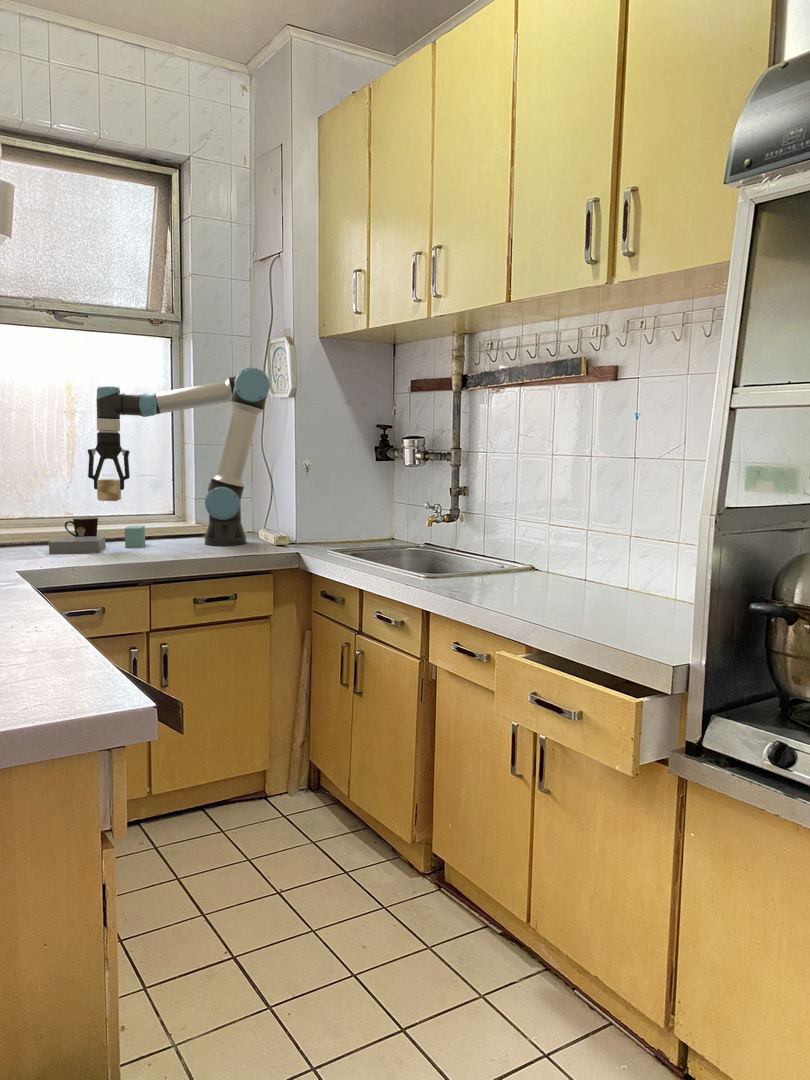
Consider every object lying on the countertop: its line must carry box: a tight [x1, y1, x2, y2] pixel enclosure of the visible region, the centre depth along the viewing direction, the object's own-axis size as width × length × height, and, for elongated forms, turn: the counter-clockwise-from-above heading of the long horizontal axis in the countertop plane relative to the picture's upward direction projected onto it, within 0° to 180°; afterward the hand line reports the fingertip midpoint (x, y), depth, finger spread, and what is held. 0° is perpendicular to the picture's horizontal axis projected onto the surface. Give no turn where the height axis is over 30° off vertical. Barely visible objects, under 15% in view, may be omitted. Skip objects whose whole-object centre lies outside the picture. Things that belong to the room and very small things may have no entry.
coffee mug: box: [64, 516, 99, 537], centre depth 300 cm, size 12×9×10 cm
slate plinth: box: [48, 535, 107, 555], centre depth 287 cm, size 16×14×4 cm
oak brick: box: [97, 478, 120, 502], centre depth 285 cm, size 6×8×7 cm
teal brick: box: [124, 525, 146, 549], centre depth 299 cm, size 6×8×7 cm
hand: (109, 499), depth 285 cm, fingers closed on oak brick, 6 cm apart
